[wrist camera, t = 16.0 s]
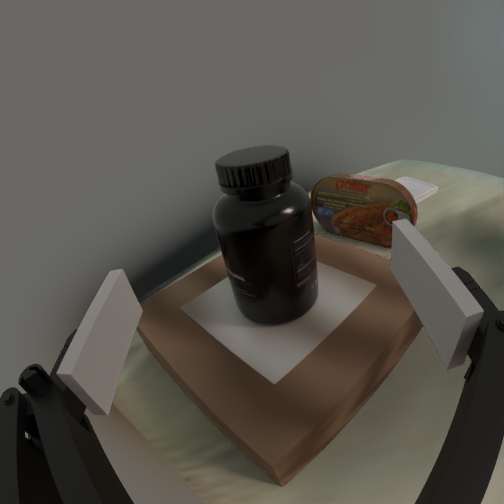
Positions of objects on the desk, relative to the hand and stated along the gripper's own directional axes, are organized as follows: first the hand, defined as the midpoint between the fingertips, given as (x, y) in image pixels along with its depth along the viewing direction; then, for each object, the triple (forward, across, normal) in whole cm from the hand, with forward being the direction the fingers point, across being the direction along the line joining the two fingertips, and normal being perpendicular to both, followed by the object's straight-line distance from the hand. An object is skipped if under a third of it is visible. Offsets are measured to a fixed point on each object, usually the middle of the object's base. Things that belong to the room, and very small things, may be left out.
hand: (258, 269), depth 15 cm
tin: (+24, +13, -14) cm, 31 cm away
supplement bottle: (+8, 0, -9) cm, 12 cm away
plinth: (+8, 0, -14) cm, 16 cm away
